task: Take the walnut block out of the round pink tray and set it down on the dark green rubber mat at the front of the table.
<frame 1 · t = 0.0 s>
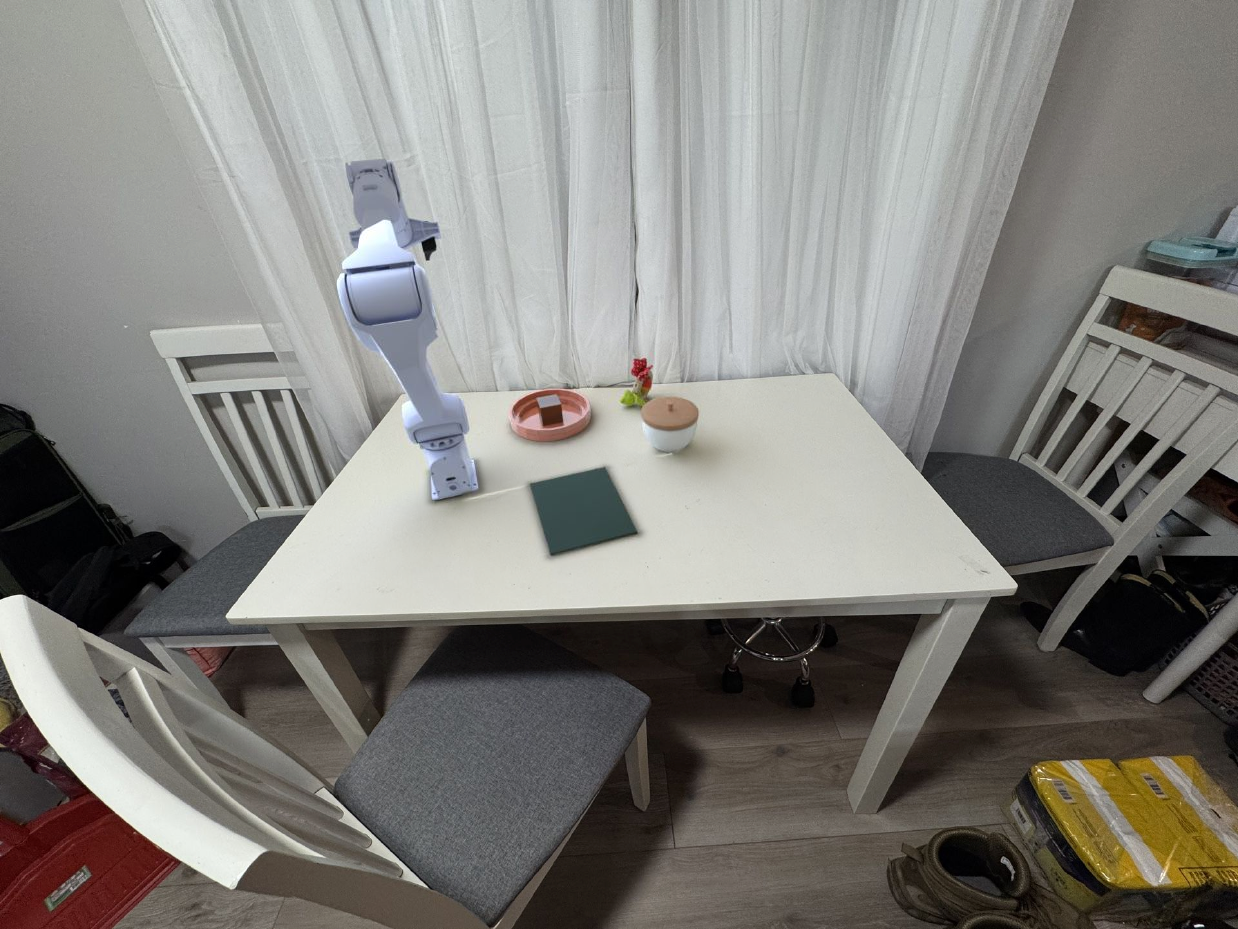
hand: (405, 258, 97), 32 cm above the table, tool tilted 50°, fingers open, 7 cm apart
block: (551, 418, 109), resting on round pink tray
round pink tray: (551, 420, 110), on the table
trinket box: (668, 445, 101), on the table
mat: (580, 507, 87), on the table
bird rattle: (639, 404, 114), on the table
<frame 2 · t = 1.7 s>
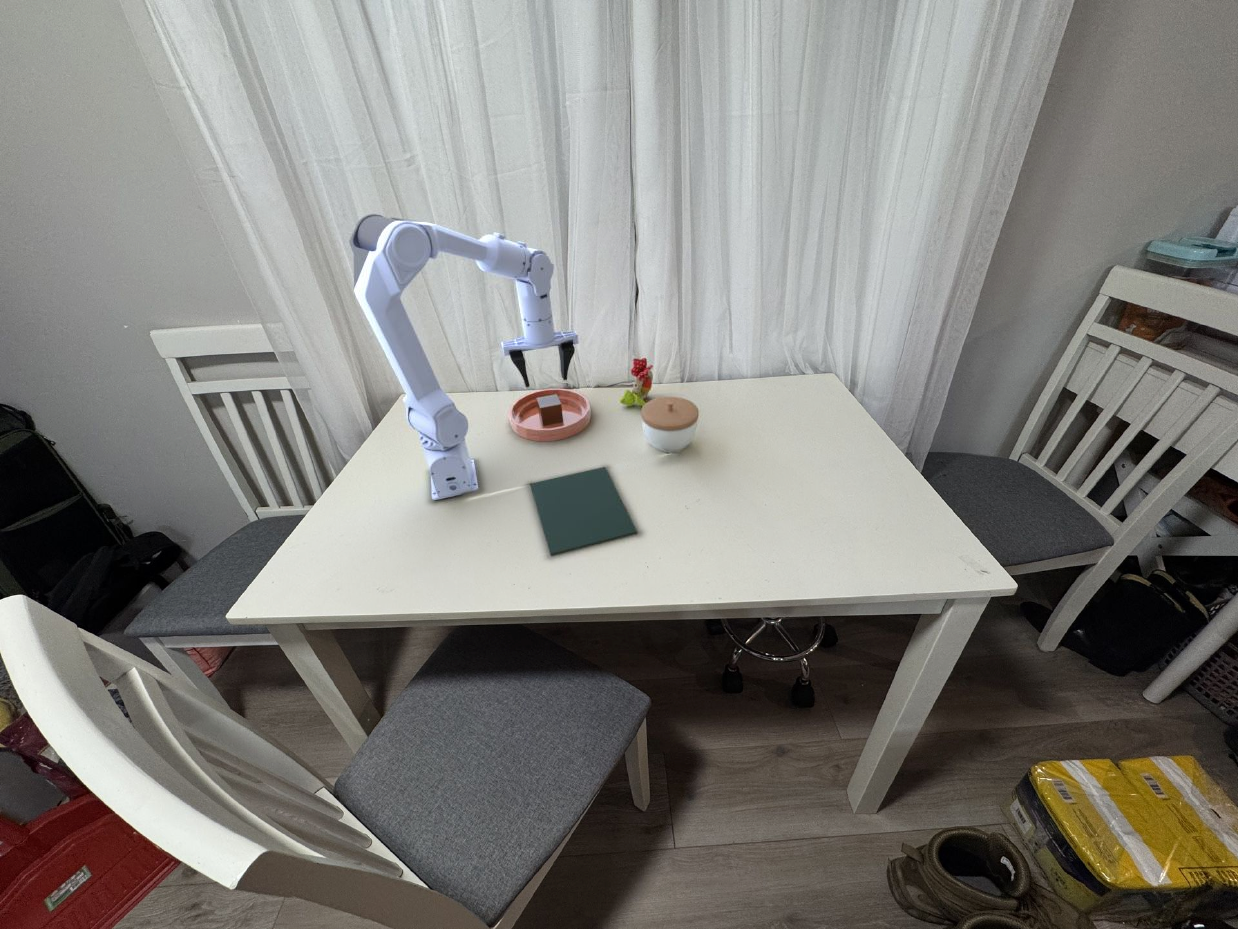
hand: (545, 381, 104), 9 cm above the table, tool pointing down, fingers open, 7 cm apart
nothing on the table moved.
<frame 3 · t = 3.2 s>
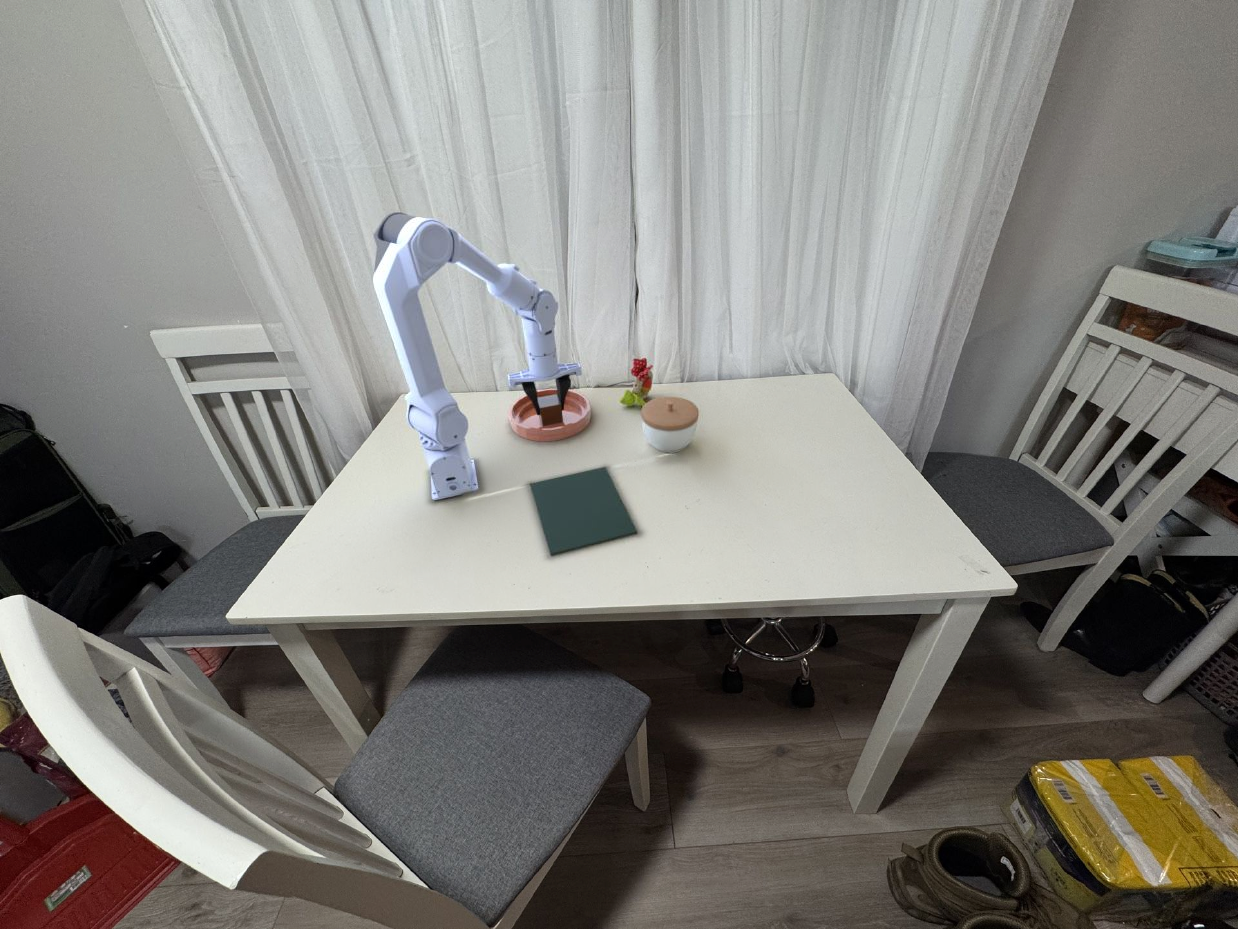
hand: (549, 410, 108), 3 cm above the table, tool pointing down, fingers closed on block, 4 cm apart
block: (550, 419, 109), resting on round pink tray, touching gripper
everything else where it was.
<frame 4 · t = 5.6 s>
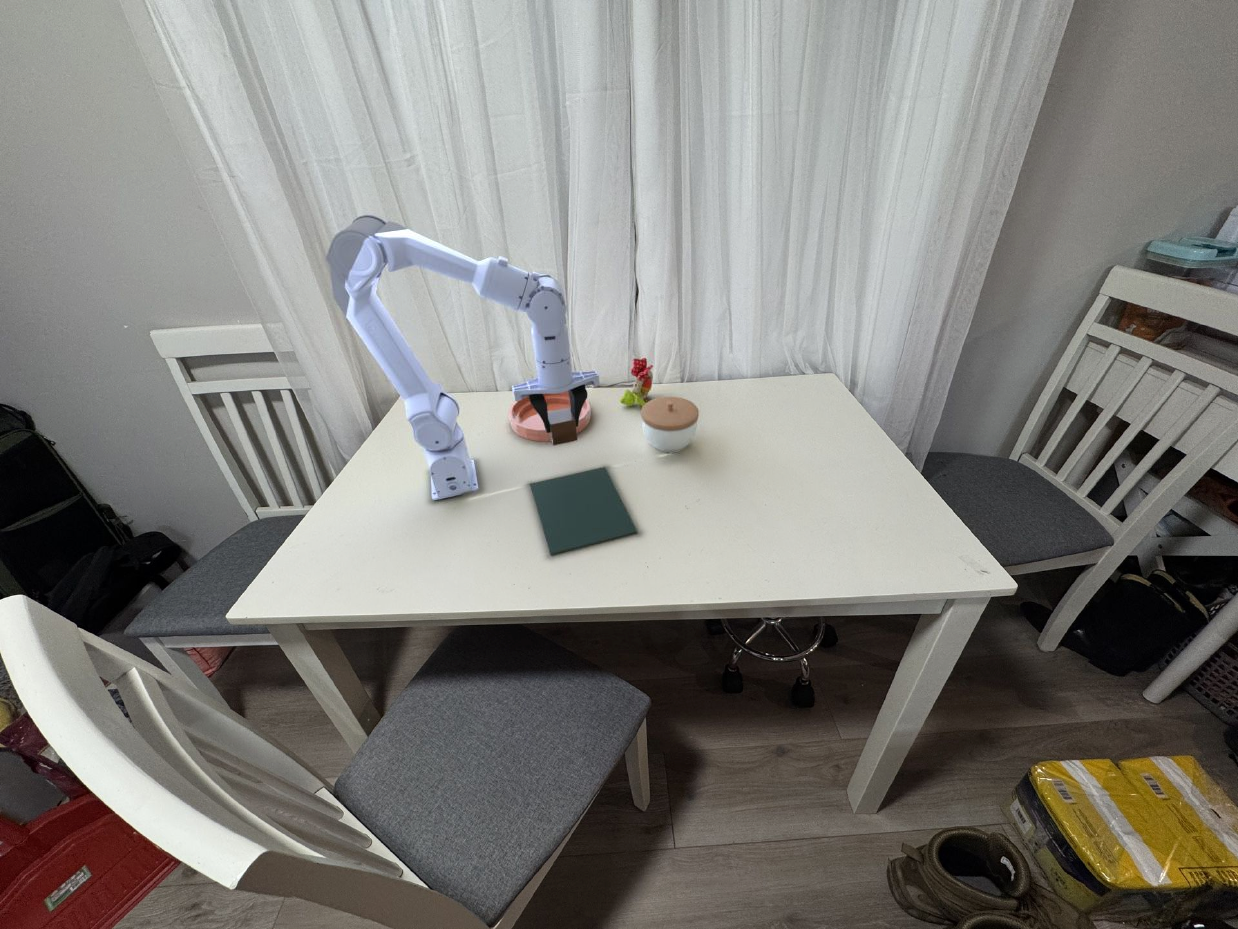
hand: (561, 426, 92), 9 cm above the table, tool pointing down, fingers closed on block, 4 cm apart
block: (562, 436, 93), point 7 cm above the table, touching gripper
everything else where it was.
when the fingers open (2 cm above the table, at t = 8.3 s): block stays where it is, resting on mat.
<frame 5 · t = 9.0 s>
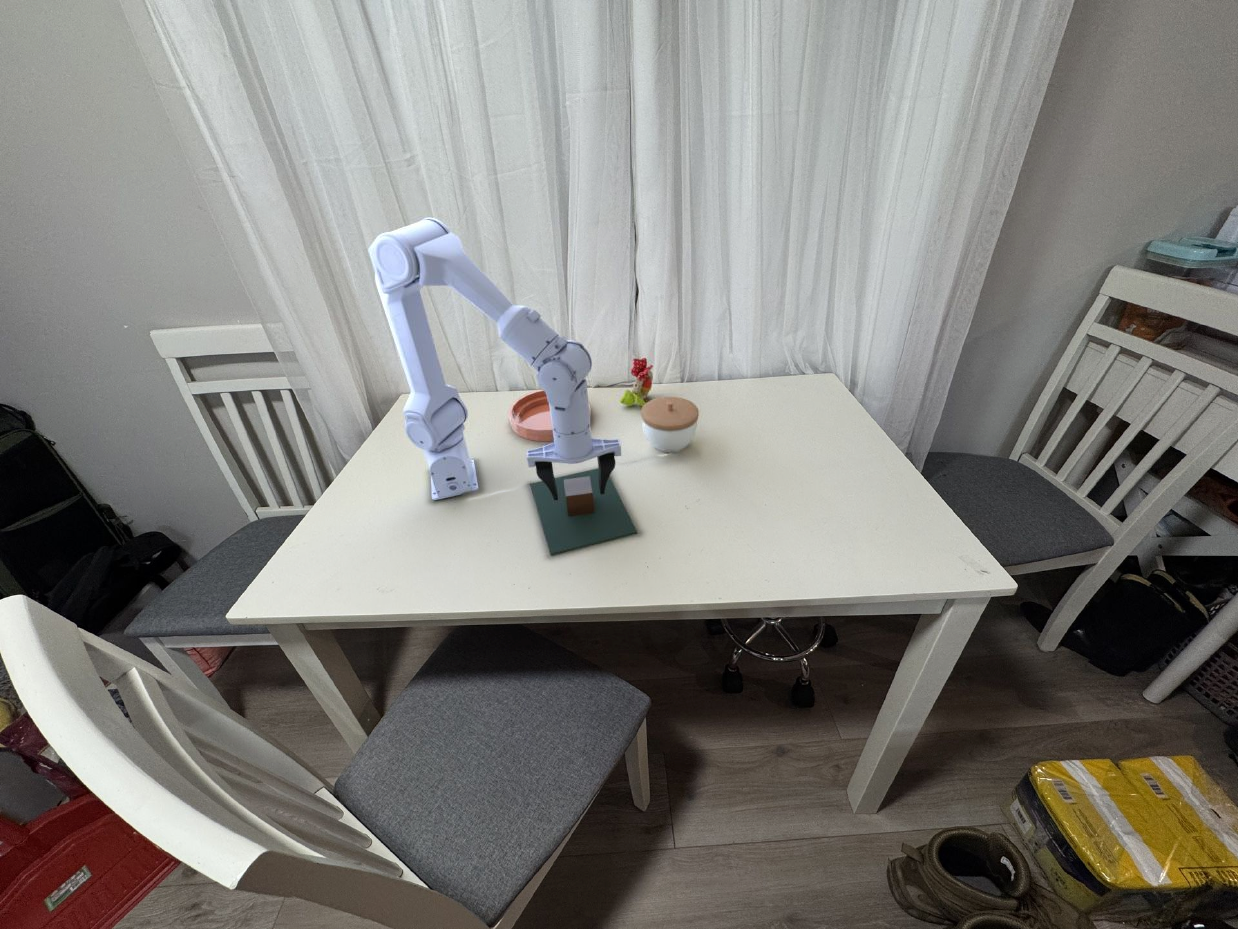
hand: (578, 493, 85), 3 cm above the table, tool pointing down, fingers open, 7 cm apart
block: (580, 506, 87), resting on mat
everything else where it was.
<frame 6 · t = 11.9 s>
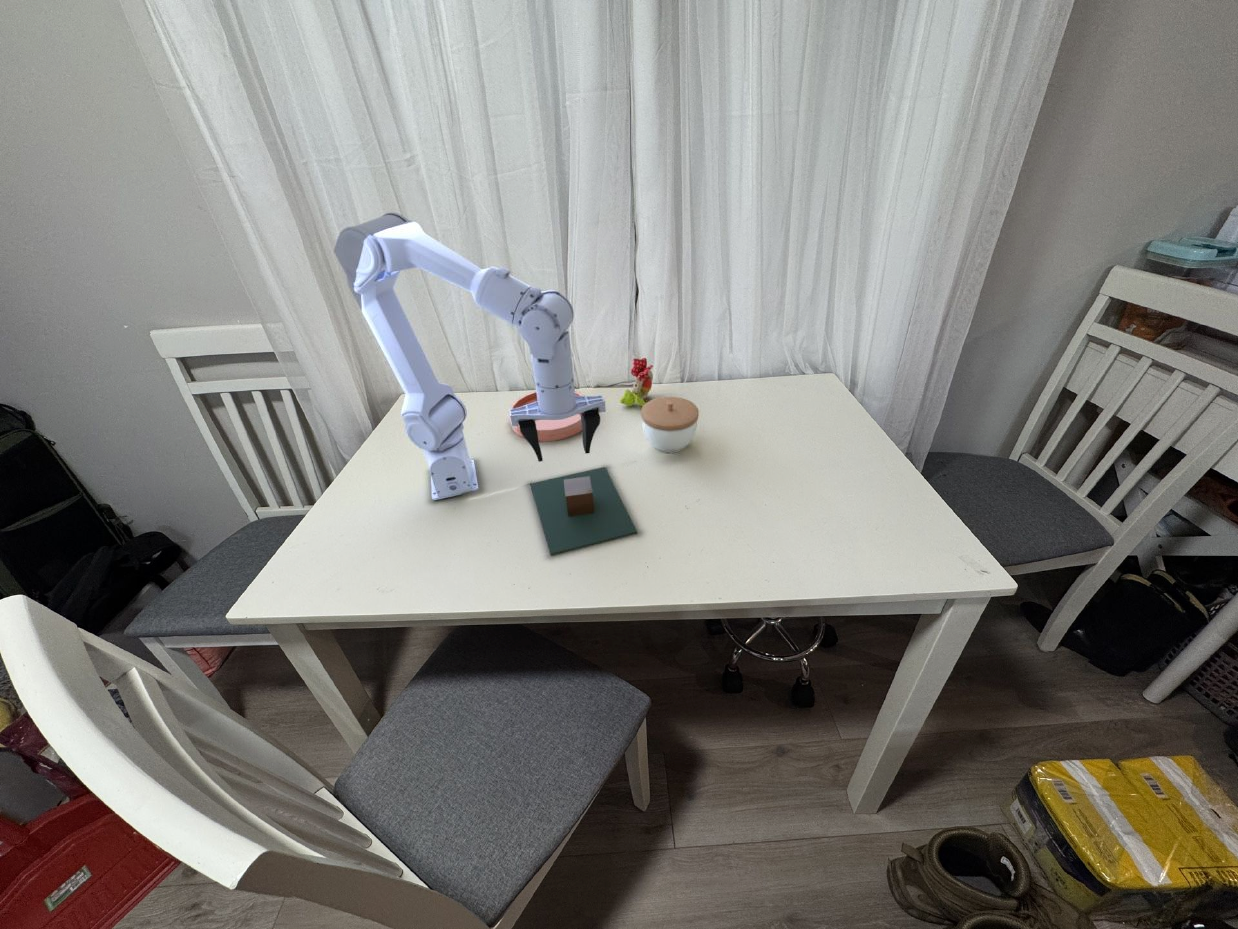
hand: (563, 454, 84), 9 cm above the table, tool pointing down, fingers open, 7 cm apart
nothing on the table moved.
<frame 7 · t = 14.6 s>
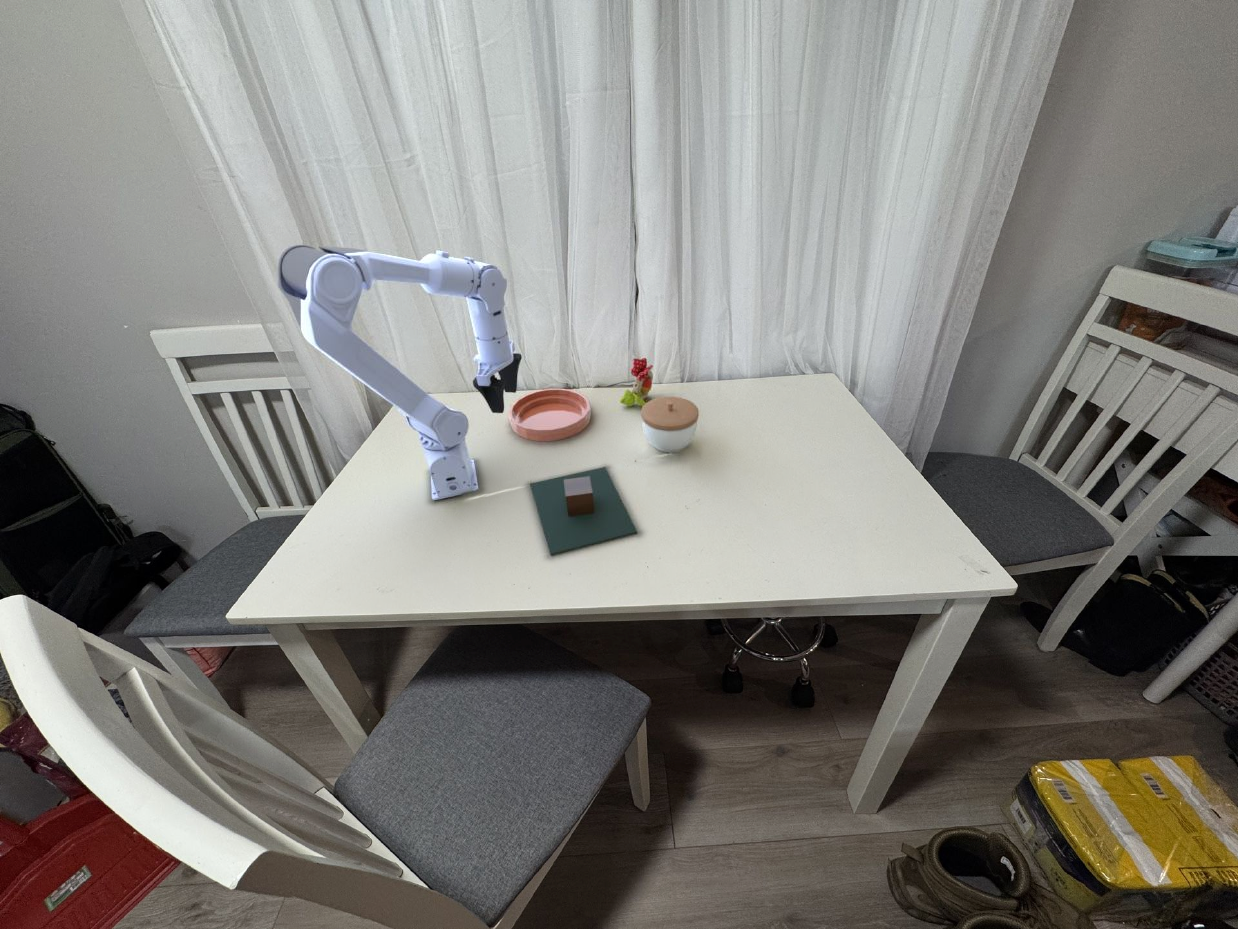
hand: (504, 401, 98), 9 cm above the table, tool pointing down, fingers open, 7 cm apart
nothing on the table moved.
at the end: block inside the target area on the mat (0.0 cm from its centre), point 0.4 cm above the mat's base; block touching mat; block tilted 0° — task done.
